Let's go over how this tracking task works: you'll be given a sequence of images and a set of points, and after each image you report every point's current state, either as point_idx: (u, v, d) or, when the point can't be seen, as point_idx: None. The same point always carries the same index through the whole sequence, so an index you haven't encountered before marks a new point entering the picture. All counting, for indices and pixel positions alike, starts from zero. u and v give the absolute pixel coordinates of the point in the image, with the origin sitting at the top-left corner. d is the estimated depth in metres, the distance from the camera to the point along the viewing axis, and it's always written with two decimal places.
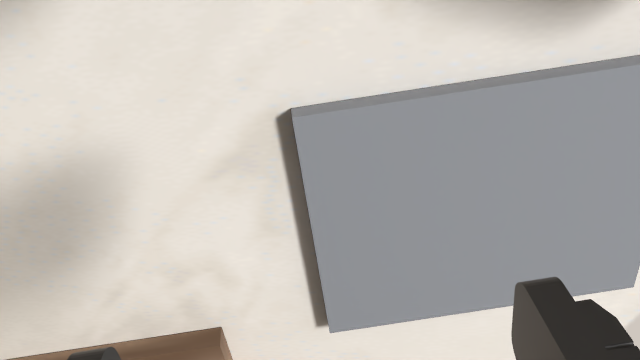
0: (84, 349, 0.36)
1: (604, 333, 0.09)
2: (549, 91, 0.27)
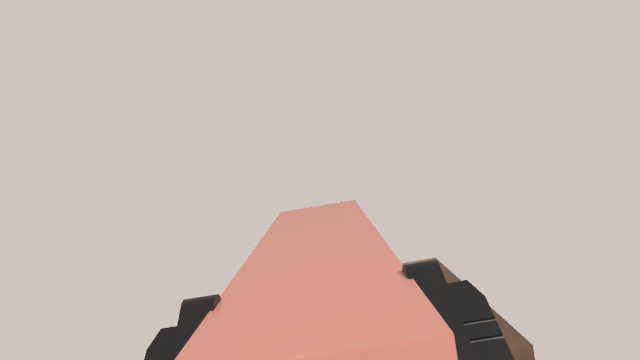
0: None
1: (471, 310, 0.10)
2: None
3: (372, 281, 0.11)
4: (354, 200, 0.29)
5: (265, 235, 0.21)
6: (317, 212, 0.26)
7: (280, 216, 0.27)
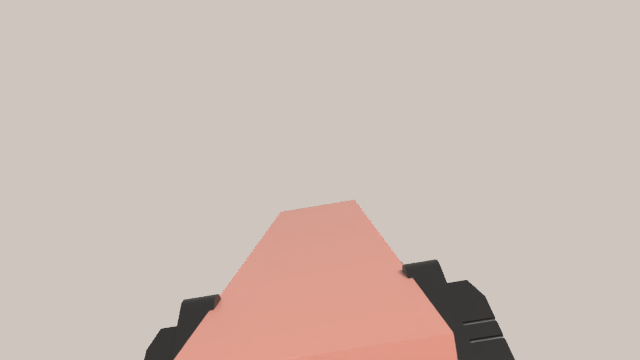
0: None
1: (471, 310, 0.10)
2: None
3: (372, 281, 0.11)
4: (354, 200, 0.29)
5: (265, 235, 0.21)
6: (317, 212, 0.26)
7: (280, 216, 0.27)
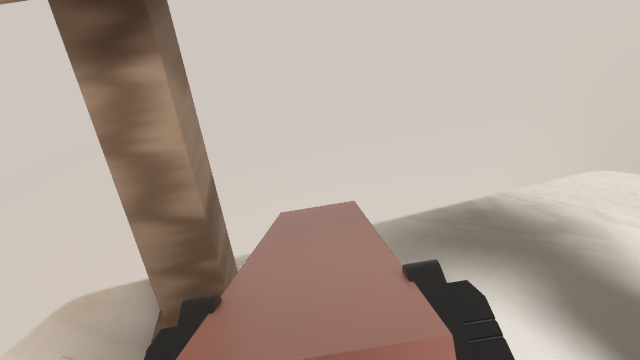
0: None
1: (471, 310, 0.10)
2: None
3: (371, 282, 0.11)
4: (354, 201, 0.29)
5: (265, 236, 0.21)
6: (317, 213, 0.26)
7: (280, 217, 0.27)
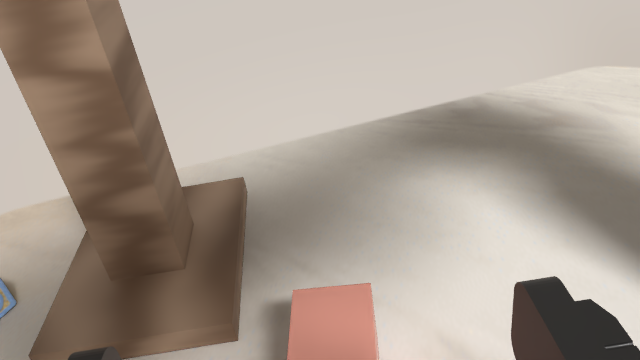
0: (243, 242, 0.40)
1: (603, 333, 0.09)
2: None
3: None
4: (370, 285, 0.28)
5: None
6: (331, 337, 0.25)
7: (292, 324, 0.26)
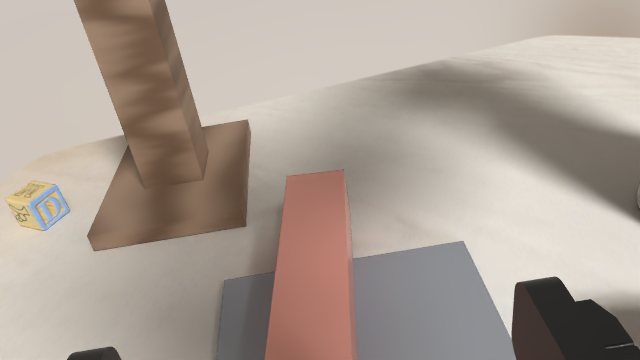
0: (248, 165, 0.50)
1: (604, 333, 0.09)
2: None
3: None
4: (343, 170, 0.38)
5: (278, 257, 0.31)
6: (314, 199, 0.35)
7: (287, 194, 0.36)
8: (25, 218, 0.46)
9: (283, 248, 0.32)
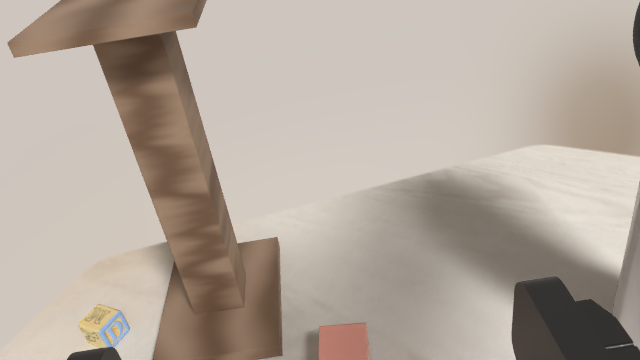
0: (280, 286, 0.59)
1: (604, 333, 0.09)
2: None
3: None
4: (365, 324, 0.46)
5: None
6: (343, 356, 0.44)
7: (320, 348, 0.45)
8: (94, 340, 0.55)
9: None
